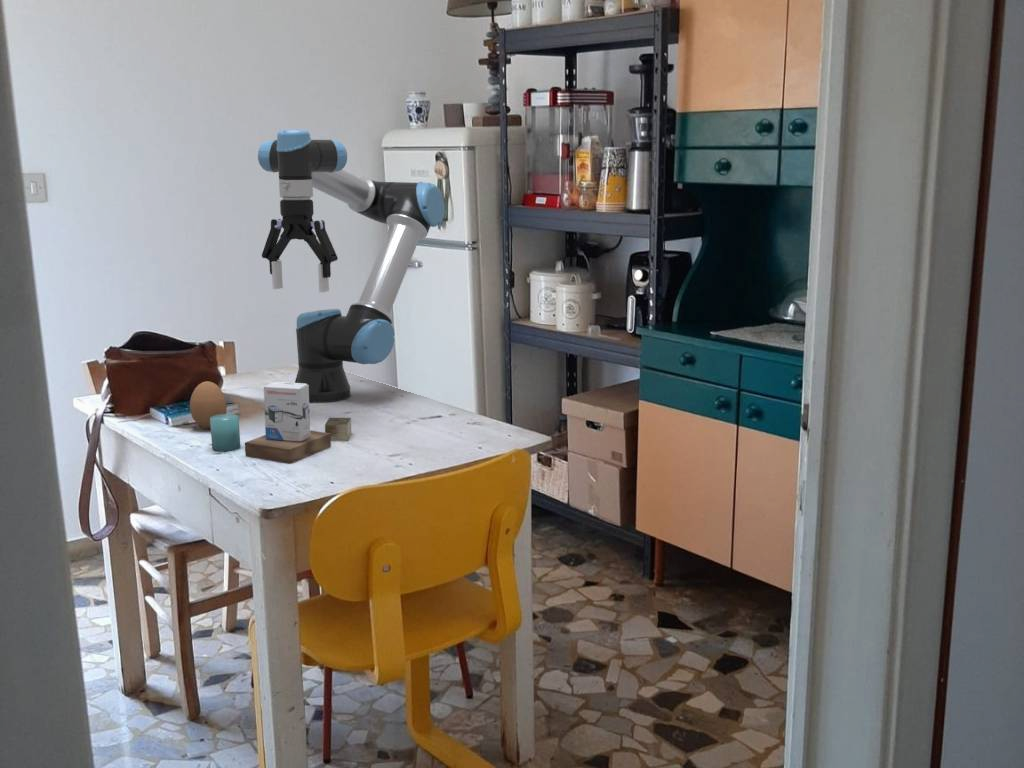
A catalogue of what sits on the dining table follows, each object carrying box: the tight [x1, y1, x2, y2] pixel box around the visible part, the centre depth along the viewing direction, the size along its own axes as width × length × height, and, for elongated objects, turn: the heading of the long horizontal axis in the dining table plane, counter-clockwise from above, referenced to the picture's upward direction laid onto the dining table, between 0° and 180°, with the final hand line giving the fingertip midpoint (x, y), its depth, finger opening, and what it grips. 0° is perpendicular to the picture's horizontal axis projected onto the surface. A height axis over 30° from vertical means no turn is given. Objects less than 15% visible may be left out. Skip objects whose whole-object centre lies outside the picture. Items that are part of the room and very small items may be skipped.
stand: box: [244, 429, 332, 464], centre depth 213 cm, size 14×12×3 cm
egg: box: [189, 380, 228, 430], centre depth 231 cm, size 8×8×11 cm
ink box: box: [263, 381, 311, 441], centre depth 211 cm, size 9×5×12 cm, turn 78°
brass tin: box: [324, 417, 353, 442], centre depth 224 cm, size 6×5×4 cm
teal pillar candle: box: [210, 413, 241, 453], centre depth 215 cm, size 6×6×7 cm
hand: (300, 290), depth 232 cm, fingers open, 13 cm apart
